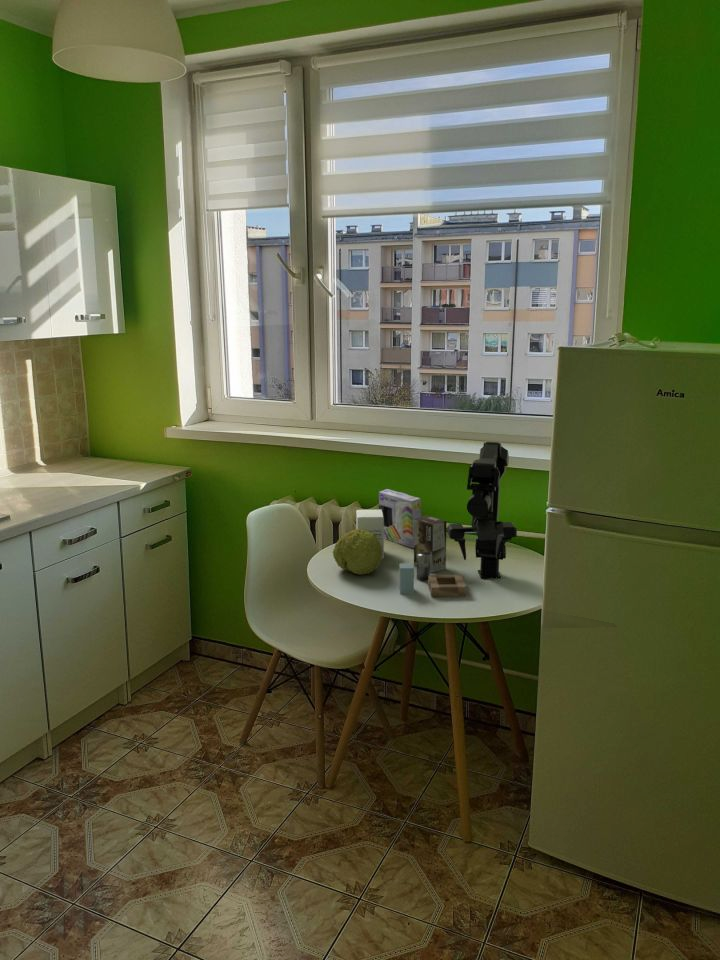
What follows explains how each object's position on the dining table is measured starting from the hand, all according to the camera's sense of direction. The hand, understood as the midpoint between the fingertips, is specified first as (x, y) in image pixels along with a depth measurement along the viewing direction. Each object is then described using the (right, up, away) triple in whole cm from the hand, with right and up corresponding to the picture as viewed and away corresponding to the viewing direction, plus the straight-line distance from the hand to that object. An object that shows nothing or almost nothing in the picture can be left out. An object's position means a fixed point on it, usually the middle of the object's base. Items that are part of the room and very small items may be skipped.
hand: (480, 559), depth 219 cm
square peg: (-21, -11, +11) cm, 26 cm away
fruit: (-35, -7, +28) cm, 45 cm away
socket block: (-9, -11, +12) cm, 18 cm away
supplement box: (-31, -3, +42) cm, 53 cm away
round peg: (-15, -8, +21) cm, 27 cm away
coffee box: (-12, -6, +31) cm, 34 cm away
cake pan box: (-20, 0, +56) cm, 60 cm away
